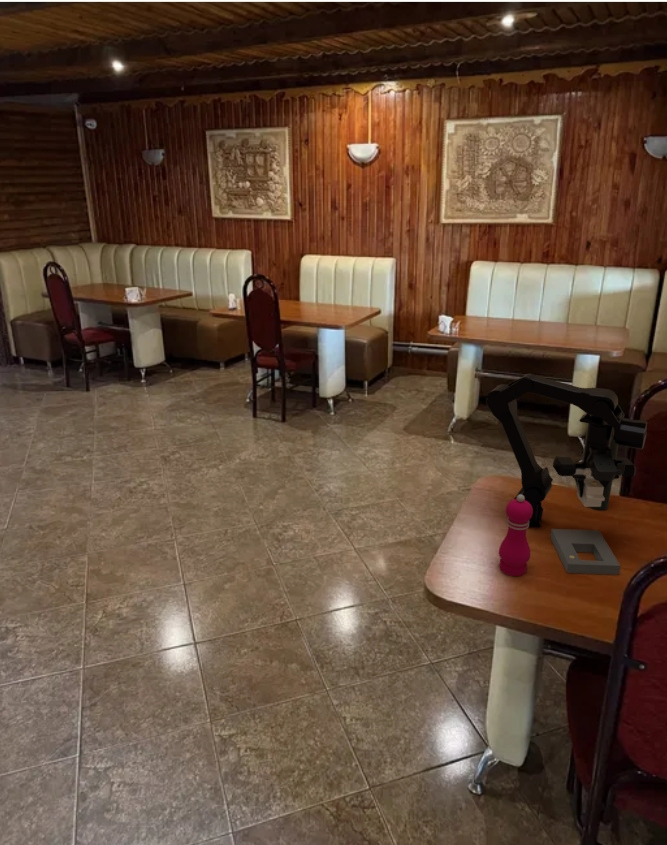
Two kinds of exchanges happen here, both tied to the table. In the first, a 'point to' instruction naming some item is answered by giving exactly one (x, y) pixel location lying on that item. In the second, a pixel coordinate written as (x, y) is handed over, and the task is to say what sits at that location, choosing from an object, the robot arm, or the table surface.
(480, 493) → the table surface
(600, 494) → the servo
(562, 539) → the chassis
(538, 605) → the table surface
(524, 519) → the pepper mill
